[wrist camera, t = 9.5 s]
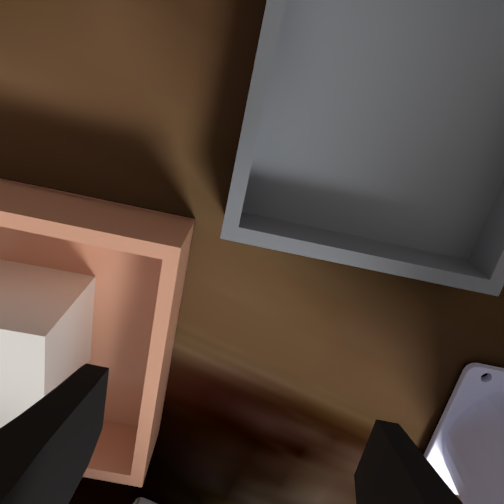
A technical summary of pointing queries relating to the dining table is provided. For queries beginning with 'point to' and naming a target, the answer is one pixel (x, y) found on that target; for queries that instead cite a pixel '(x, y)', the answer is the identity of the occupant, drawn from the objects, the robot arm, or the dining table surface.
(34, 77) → the dining table surface
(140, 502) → the coffee box
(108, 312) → the bin
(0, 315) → the white cube
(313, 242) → the tray
